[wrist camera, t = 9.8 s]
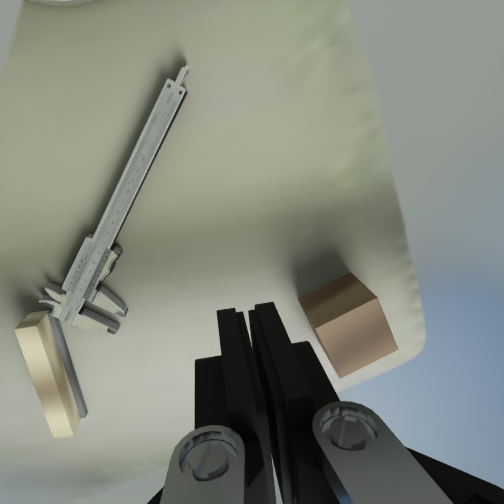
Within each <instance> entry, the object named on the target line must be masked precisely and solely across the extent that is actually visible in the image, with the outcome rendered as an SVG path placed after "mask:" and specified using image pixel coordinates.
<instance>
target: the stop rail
mask: <svg viewBox="0 0 504 504" xmlns="http://www.w3.org/2000/svg"><path fill="white" fill-rule="evenodd" d="M52 310H53V309H52ZM52 310H46V311H39V312H33V313H29V314H28V315H27V316H26V318H25V319H24V320H23V321H22V322H21V323H20V324H19V325H18V326H17V327H16V328H15V329H14V330H15V333H16V335H17V338H18V341H19V344H20V346H21V349H22V352H23V355H24V357H25V360H26V363H27V366H28V369H29V371H30V374H31V377H32V380H33V382H34V385H35V388H36V391H37V393H38V396H39V399H40V402H41V404H42V407H43V410H44V413H45V415H46V418H47V421H48V424H49V426H50V429H51V432H52V435H53V437H54V439H58V438H64V437H69V436H74V434H75V431H76V429H77V426H78V424H79V421H80V419H81V418H84V417H86V415H87V413H88V411H87V408H86V405H85V402H84V398H83V395H82V392H81V389H80V386H79V383H78V379H77V376H76V373H75V370H74V367H73V363H72V360H71V357H70V354H69V351H68V348H67V344H66V341H65V338H64V335H63V332H62V328H61V325H60V322H59V319H58V318H56V317H54V316H52V315H51V313H52Z"/></svg>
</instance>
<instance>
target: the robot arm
mask: <svg viewBox="0 0 504 504" xmlns="http://www.w3.org/2000/svg"><path fill="white" fill-rule="evenodd" d="M29 1H32V2H36V3H42V4H47V5H53V6H71V5H79V4H83V3H87V2H91V1H95V0H29ZM248 313H249V322H250V331H251V340H252V346H251V342H250V338H249V334H248V330H247V326H246V322H245V318H244V314H243V311H242V312H236V310H235V308H230V309H223V310H217V319H218V328H219V337H220V346H221V355H220V356H214V357H208V358H202V359H196V360H195V430H194V431H191V432H190V433H189V434H187V435H186V436H185V437H183V438H182V439H181V441H180V442H179V443H178V444H177V446H176V447H175V449H174V451H173V454H172V456H171V460H170V464H169V468H168V472H167V476H166V480H165V484H164V487H163V488H162V489H161V490H160V491H159V492H158V493H157V494H156V495H155V496H154V497H153V498H152V499H151V500H150V501H149V502H148V503H147V504H276V496H275V486H274V477H273V466H272V458H273V463H274V467H275V471H276V476H277V480H278V485H279V489H280V493H281V498H282V502H283V504H504V489H502V488H500V487H498V486H496V485H494V484H491V483H489V482H487V481H484V480H482V479H480V478H477V477H475V476H473V475H470V474H468V473H466V472H463V471H461V470H459V469H456V468H454V467H452V466H449V465H447V464H444V463H442V462H440V461H437V460H435V459H433V458H430V457H428V456H426V455H424V454H421V453H419V452H416V451H414V450H412V449H409V448H407V447H405V446H404V445H403V444H402V443H401V442H400V440H399V439H398V438H397V437H396V436H395V435H394V433H393V432H392V431H391V430H390V429H389V428H388V426H387V425H386V424H385V423H384V422H383V420H382V419H381V418H380V417H379V416H378V415H377V414H376V413H375V412H373V411H372V410H371V409H369V408H368V407H365V406H364V405H362V404H358V403H355V402H348V401H340V400H339V398H338V396H337V394H336V392H335V390H334V388H333V386H332V384H331V382H330V380H329V379H328V377H327V375H326V373H325V371H324V369H323V367H322V365H321V363H320V361H319V359H318V357H317V356H316V354H315V352H314V350H313V348H312V346H311V344H310V343H309V342H308V341H304V342H298V343H291V341H290V339H289V337H288V334H287V332H286V330H285V327H284V325H283V323H282V321H281V318H280V316H279V314H278V311H277V309H276V307H275V304H274V302H269V303H262V304H256V305H255V310H249V311H248ZM252 349H253V350H252ZM271 454H272V457H271Z"/></svg>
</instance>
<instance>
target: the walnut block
mask: <svg viewBox="0 0 504 504" xmlns="http://www.w3.org/2000/svg"><path fill="white" fill-rule="evenodd" d="M298 300H299V302H300V304H301V306H302V308H303V310H304V312H305V314H306V316H307V319H308V321H309V323H310V325H311V327H312V329H313V331H314V333H315V335H316V337H317V339H318V341H319V343H320V345H321V346H322V348H323V350H324V352H325V354H326V355H327V357H328V359H329V361H330V362H331V364H332V366H333V368H334V369H335V371H336V373H337V375H338V377H339V378H342V377H344V376H346V375H348V374H350V373H352V372H354V371H356V370H358V369H360V368H362V367H364V366H366V365H368V364H370V363H372V362H374V361H376V360H378V359H380V358H382V357H384V356H387V355H389V354H391V353H393V352H395V351H397V350H398V347H397V345H396V342H395V340H394V337H393V335H392V332H391V330H390V327H389V325H388V322H387V320H386V317H385V315H384V312H383V310H382V307H381V305H380V302H379V300H378V297H377V296H375V295H374V294H373V293H372V292H371V291H370V290H369V289H368V288H367V287H366V286H365V285H364V284H363V283H362V282H360V281H359V280H358V279H357V278H356V277H355V276H354V275H353V274H352V273H349V274H347V275H345V276H343V277H341V278H339V279H337V280H336V281H334V282H332V283H330V284H328V285H326V286H324V287H322V288H320V289H318V290H316V291H314V292H312V293H310V294H308V295H306V296H304V297H302V298H300V299H298Z"/></svg>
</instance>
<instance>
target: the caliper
mask: <svg viewBox="0 0 504 504" xmlns="http://www.w3.org/2000/svg"><path fill="white" fill-rule="evenodd" d="M188 73H189V65H187V64H186V66H185V67H182V68H181V70H180V72H179V74H178V76H177V79H176V81H175V82H174V81H173V80H171V79H169V78H167V80H166V83H165V85H164V87H163V89H162V91H161V93H160V95H159V97H158V99H157V102H156V104H155V106H154V108H153V110H152V112H151V114H150V116H149V118H148V121H147V123H146V125H145V127H144V129H143V131H142V133H141V135H140V137H139V140H138V142H137V144H136V146H135V148H134V150H133V152H132V155H131V157H130V159H129V161H128V163H127V165H126V167H125V170H124V172H123V174H122V176H121V178H120V180H119V182H118V185H117V187H116V189H115V191H114V193H113V195H112V197H111V200H110V202H109V204H108V206H107V208H106V210H105V212H104V215H103V217H102V219H101V221H100V223H99V225H98V227H97V230H96V232H95V234H89V235H88V236H87V237H86V238H85V240H84V242H83V244H82V246H81V249H80V251H79V253H78V255H77V257H76V259H75V261H74V263H73V265H72V267H71V269H70V271H69V273H68V275H67V277H66V279H65V282H64V284H63V286H62V288H61V287H59V286H58V285H55V284H53V283H49V284H48V285H47V286H46V287H45V290H46V291H47V293H48V294H49V295H45V296H43V297H42V298H41V299H40V301H39V303H41V304H44V305H46V306H48V307H50V308H53V310H52V313H51V315H52V316H54V317H56V318H58V319H60V320H62V321H64V322H66V323H68V324H70V325H72V326H74V327H77V328H82V329H86V330H91V331H95V332H100V333H105V334H110V335H113V334H115V333H116V332H117V331H118V329H119V327H120V324H118V323H116V322H114V321H111V320H109V319H107V318H105V317H103V316H101V315H99V314H97V313H95V312H93V311H91V310H89V309H87V308H85V307H83V305H84V303H85V302H86V300H87V301H90V302H91V303H92V304H94V305H97V306H99V307H101V308H103V309H105V310H107V311H109V312H111V313H116V314H118V315H120V316H122V317H125V316H126V314H127V311H128V308H127V306H126V304H124V303H123V302H122V301H121V300H120V299H118V298H117V297H116V296H115V295H114V294H112V293H111V292H110V291H109V290H108V289H107V288H105V287H104V286H103V285H102V284H101V281H103V280H104V279H105V278H106V277H107V276H108V275H109V274H110V273H111V272H112V271H113V269H114V268H115V265H116V261H117V260H118V258H119V257H120V255H121V254H122V252H123V250H122V249H121V248H119V247H117V246H116V245H114V243H115V241H116V239H117V237H118V235H119V233H120V230H121V228H122V226H123V224H124V222H125V220H126V218H127V216H128V214H129V212H130V210H131V208H132V205H133V203H134V201H135V199H136V197H137V195H138V193H139V191H140V189H141V187H142V185H143V183H144V180H145V178H146V176H147V174H148V172H149V170H150V168H151V166H152V164H153V162H154V160H155V158H156V156H157V154H158V152H159V150H160V148H161V146H162V144H163V142H164V140H165V138H166V136H167V134H168V132H169V130H170V128H171V126H172V124H173V122H174V120H175V118H176V116H177V114H178V112H179V109H180V107H181V105H182V103H183V101H184V99H185V97H186V95H187V92H188V91H187V89H185V88H184V87H183V86H182V85H183V83H184V81H185V79H186V77H187V75H188Z"/></svg>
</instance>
